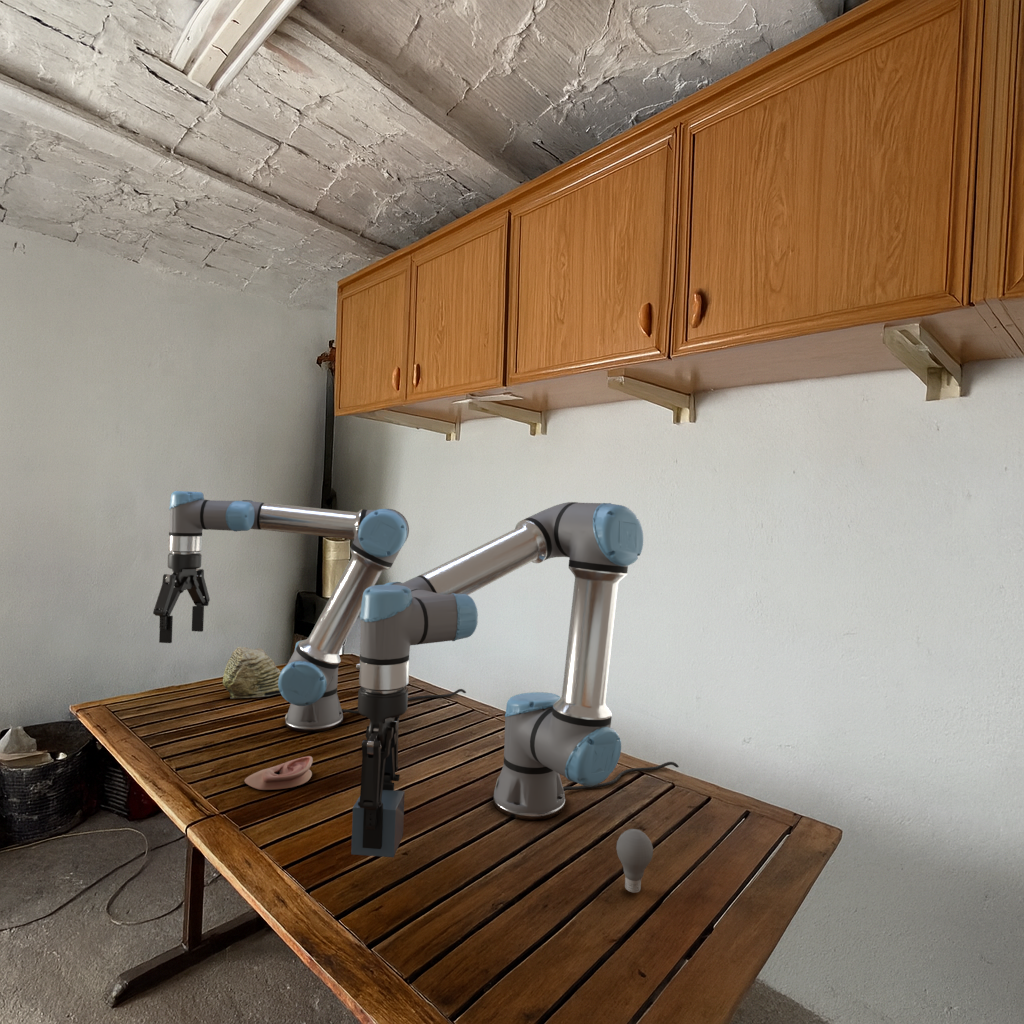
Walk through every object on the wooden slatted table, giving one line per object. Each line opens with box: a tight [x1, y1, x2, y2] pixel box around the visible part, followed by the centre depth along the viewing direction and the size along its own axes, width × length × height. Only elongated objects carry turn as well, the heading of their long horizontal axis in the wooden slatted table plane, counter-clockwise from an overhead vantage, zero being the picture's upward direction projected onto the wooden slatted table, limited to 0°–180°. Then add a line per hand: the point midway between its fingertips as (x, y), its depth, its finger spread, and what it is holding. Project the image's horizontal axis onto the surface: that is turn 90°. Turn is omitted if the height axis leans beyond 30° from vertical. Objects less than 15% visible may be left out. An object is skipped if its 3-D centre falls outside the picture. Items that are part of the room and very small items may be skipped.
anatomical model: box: [244, 755, 314, 791], centre depth 141 cm, size 13×4×12 cm
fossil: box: [222, 646, 281, 699], centre depth 198 cm, size 9×18×15 cm, turn 132°
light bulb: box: [615, 828, 654, 894], centre depth 106 cm, size 6×6×10 cm
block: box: [350, 789, 406, 858], centre depth 98 cm, size 6×6×7 cm
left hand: (182, 636), depth 159 cm, fingers open, 13 cm apart
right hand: (378, 834), depth 98 cm, fingers closed on block, 6 cm apart
